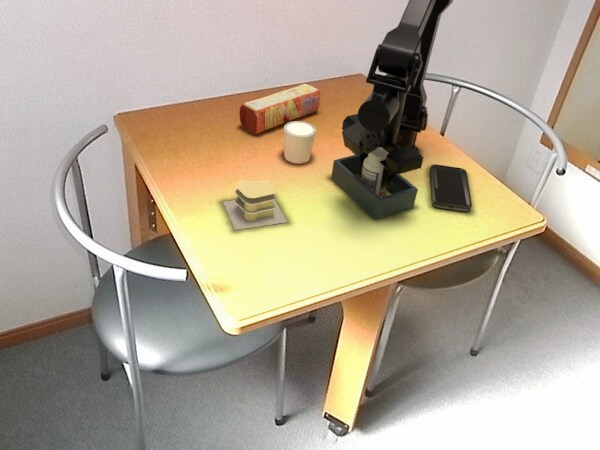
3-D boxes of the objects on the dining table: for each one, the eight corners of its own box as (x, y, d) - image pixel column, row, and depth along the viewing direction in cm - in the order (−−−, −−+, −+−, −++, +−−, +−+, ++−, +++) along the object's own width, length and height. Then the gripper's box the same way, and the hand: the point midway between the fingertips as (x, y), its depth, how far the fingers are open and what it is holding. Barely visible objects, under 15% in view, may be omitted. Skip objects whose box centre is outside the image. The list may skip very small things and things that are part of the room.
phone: (466, 168, 135) (472, 208, 123) (464, 173, 136) (470, 212, 124) (430, 163, 135) (432, 202, 123) (428, 167, 136) (431, 206, 124)
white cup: (309, 167, 132) (312, 139, 128) (278, 161, 133) (280, 133, 128) (315, 151, 137) (318, 123, 133) (285, 146, 138) (287, 118, 134)
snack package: (302, 103, 156) (305, 78, 151) (321, 113, 152) (324, 88, 148) (237, 126, 143) (238, 100, 139) (255, 138, 140) (257, 111, 135)
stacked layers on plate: (272, 195, 122) (273, 172, 119) (286, 222, 116) (288, 198, 113) (222, 201, 119) (223, 178, 116) (235, 230, 113) (235, 205, 109)
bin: (367, 168, 134) (371, 150, 131) (413, 207, 124) (418, 189, 121) (331, 178, 129) (333, 160, 127) (375, 219, 119) (379, 200, 116)
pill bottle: (377, 183, 129) (385, 143, 123) (388, 198, 125) (397, 157, 119) (354, 186, 128) (361, 145, 122) (364, 201, 124) (372, 160, 118)
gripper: (324, 94, 117) (315, 163, 127) (384, 140, 105) (369, 213, 115) (371, 85, 122) (359, 152, 132) (433, 128, 110) (415, 199, 120)
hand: (374, 178), depth 124 cm, fingers open, 6 cm apart
